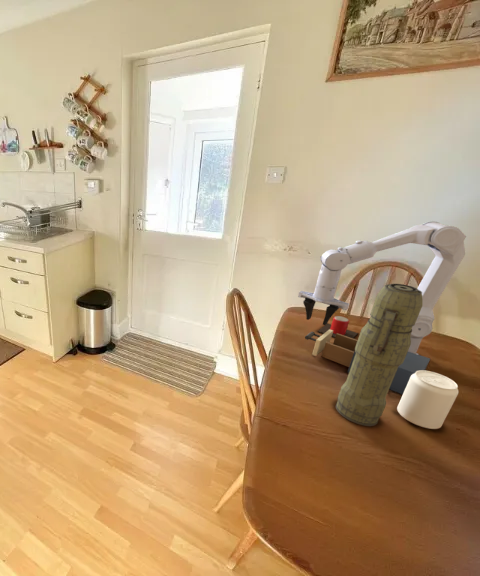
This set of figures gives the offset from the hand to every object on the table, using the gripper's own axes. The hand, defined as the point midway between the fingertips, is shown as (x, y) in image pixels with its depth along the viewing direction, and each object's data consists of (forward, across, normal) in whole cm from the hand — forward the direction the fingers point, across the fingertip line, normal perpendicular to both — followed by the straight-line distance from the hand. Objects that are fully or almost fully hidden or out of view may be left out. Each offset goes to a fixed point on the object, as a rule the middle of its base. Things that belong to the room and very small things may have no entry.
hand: (316, 321), depth 110 cm
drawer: (+7, +9, -5) cm, 12 cm away
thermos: (+9, +22, -30) cm, 38 cm away
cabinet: (+8, +22, -5) cm, 24 cm away
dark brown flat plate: (+8, +4, +15) cm, 18 cm away
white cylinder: (+9, +32, -20) cm, 38 cm away
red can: (+8, +3, +15) cm, 18 cm away
